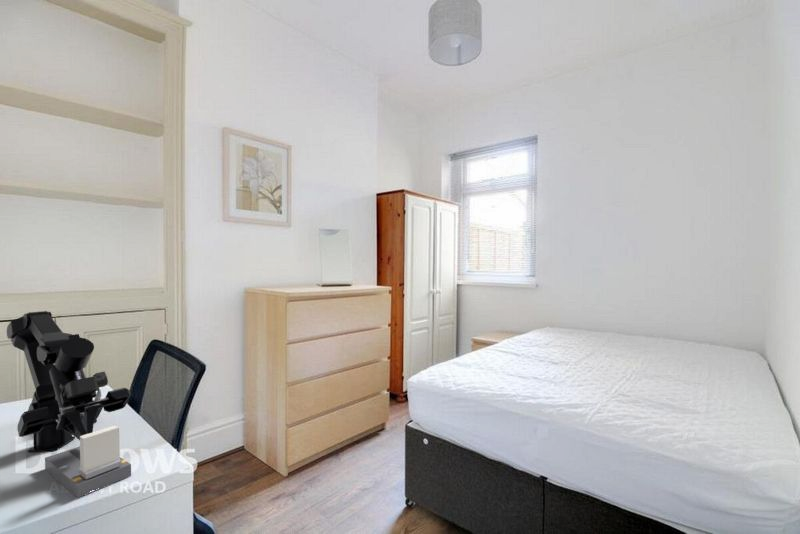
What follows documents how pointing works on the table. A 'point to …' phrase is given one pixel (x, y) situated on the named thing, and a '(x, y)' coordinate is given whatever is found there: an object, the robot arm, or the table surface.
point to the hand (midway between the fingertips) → (88, 443)
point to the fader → (99, 452)
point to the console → (68, 475)
